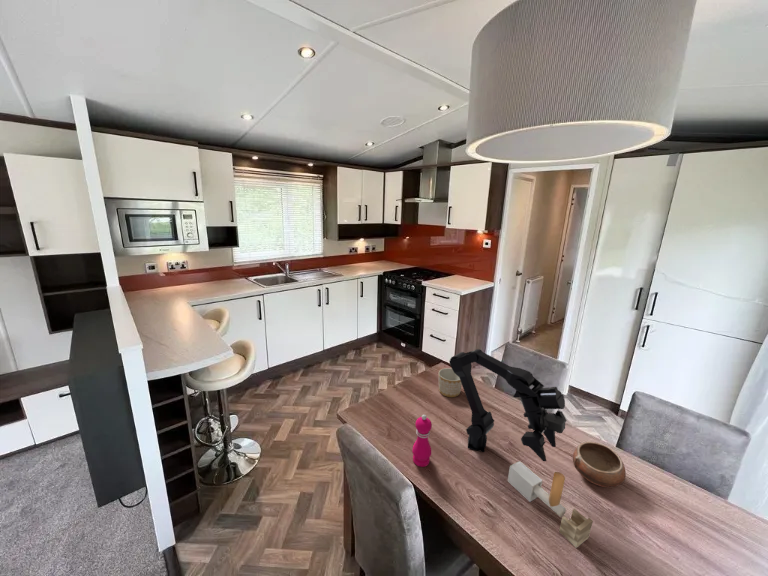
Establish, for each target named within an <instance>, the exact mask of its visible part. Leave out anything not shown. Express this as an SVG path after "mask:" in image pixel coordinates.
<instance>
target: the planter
mask: <svg viewBox="0 0 768 576" xmlns="http://www.w3.org/2000/svg"><path fill="white" fill-rule="evenodd" d="M437 375H438V391H439V393H440V394H441V395H443V396H444V397H447V398H456V397H458V396H460V394H461V390H462V383H461V381H460V378H459V377H458V376H457V375H456V374H455V373H454V372H453V370H452V368H451V367H448V368H446V367H445V368H441V369H440V370H439V371H438V374H437Z"/></svg>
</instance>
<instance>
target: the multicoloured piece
mask: <svg viewBox="0 0 768 576" xmlns="http://www.w3.org/2000/svg"><path fill="white" fill-rule="evenodd" d="M565 479H566V477H565V475H564V474H562V473H561V472H558V471H555V472H554V473H553V476H552V481H551V485H550V492H549V493H548V492H547V491H546V489H545V490H544V488H543V487H542V486H541V487H540V486H539V485H536V486H534V487H533V493H534V494H535V495H536V496H538V497H537V498H538V499H540V501H542V502H543V503H544V504H545V505H546V506H547V507H548V508H550V509H551V511H552V512H554V513H555V514H556V515H557V516H558V517H560V518H561V517H564V516H565V514H566V510H567V508H566V507H565V506H563V505H562V504H561V500H562V493H563V489H564V485H565V481H566V480H565Z"/></svg>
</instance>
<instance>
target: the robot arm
mask: <svg viewBox="0 0 768 576" xmlns="http://www.w3.org/2000/svg"><path fill="white" fill-rule="evenodd" d="M473 363H476V364H478V365H479V366H481V367H483V368H485V369H487V370H489V371H490V372H492V373H494V374H496V376H497V375H498V376H499V377H501V378H503V379H504V380H505V381H506V384H508V386H510V387H512V388H513V389H514V390H515V393H514V394H513V398H519V399H520V402H521V404H522V407H523V409H524V412H523V417H524V418H526V419H527V420H528V423H529V424H528V425H527V428H528V429H529V430H532V431H525V433H524V434H523V435H522V436H521V437H520V441H521V444H522V445H523V446H525V447H529V449H530V450H532V451H533V453H535V454H536V455H537V456H538V458H539V459H540V460H541V461H542V462H547V456H546V452H545V449H544V446H545V444H546V442H547V441H548V443H549V444H550V445H551V447H552V448H556V446H557V444H556V442H557V441H556V433H557V434H562V433H564V430H566V422H567V419H566V417H565V414H564V413H563V411H561V410H564V409H565V408H566V401H565V397H564V394H563V392H561V390H560V389H559V390H558V387H557V386H551V387H545V386H544V384H543V383H542V382H540V381H539V380H538V379H537V378H536V377H534V375H533V373H532V372H531V371H529V370H527V369H523V368H521V367H514V366H511V365H508V364H506V363H505V362H503V361H500V360H499V359H497V358H495V357H493V356H492V355H489V354H487V353H486V352H483V350H482V349H479V348H477V349H475V350H471V351H468V352H464V351H461V352H458V353H457V354H455V355H453V356H451V358H450V359H449V365H450V368H452V370H453V372H454V373H455V374H456V375H457V376H458V377H459V378H460V381H461V383H462V385H461V387H462V389H463V391H464V395H465V398H466V399H467V403H468V404H469V408H470V411H471V416H470V417H471V419H470V420H471V421H470V422H471V425H469V426H468V427H467V428H466V429H465V430H466V434H467V435H468V438H467V449H470V450H472V451H473V450H474V451H477V452H482V453H484V452H485V451H486V450H485V448H487V442H488V441H487V440H488V437H487V436H488V435H487V434H488V433H489V432H490V431H491V430H492V429H493V428H494V425H495V423H494V422H495V419H494V418H493V414H492V412H491V411H487V410H486V409H485V408H484V406H483V403H482V400H481V398H480V395H479V392H478V389H477V386H476V384H475V382H474V379H473V376H472V368H473V367H472V364H473ZM532 386H533V387H532ZM531 387H532V388H531ZM547 410H557V411H556V412H555V413H554V412H548V411H547ZM544 436H545V437H544ZM545 438H546V439H547V441H545Z"/></svg>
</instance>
